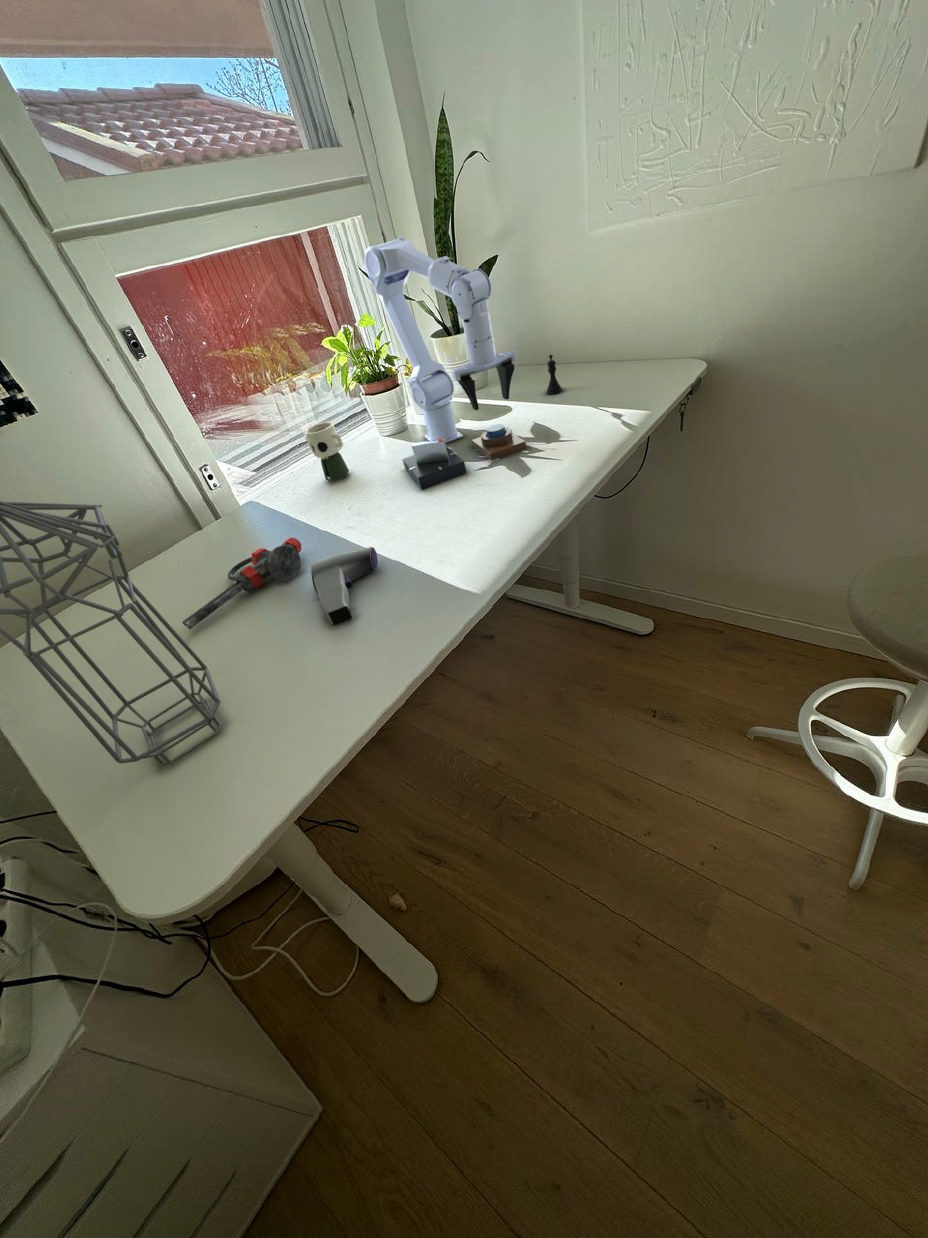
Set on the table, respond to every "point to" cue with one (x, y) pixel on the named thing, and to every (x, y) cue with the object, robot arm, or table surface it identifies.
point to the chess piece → (553, 378)
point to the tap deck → (434, 470)
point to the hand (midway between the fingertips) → (491, 403)
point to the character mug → (327, 449)
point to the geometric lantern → (43, 522)
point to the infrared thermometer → (340, 580)
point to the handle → (430, 451)
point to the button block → (498, 444)
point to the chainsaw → (255, 575)
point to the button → (495, 430)
